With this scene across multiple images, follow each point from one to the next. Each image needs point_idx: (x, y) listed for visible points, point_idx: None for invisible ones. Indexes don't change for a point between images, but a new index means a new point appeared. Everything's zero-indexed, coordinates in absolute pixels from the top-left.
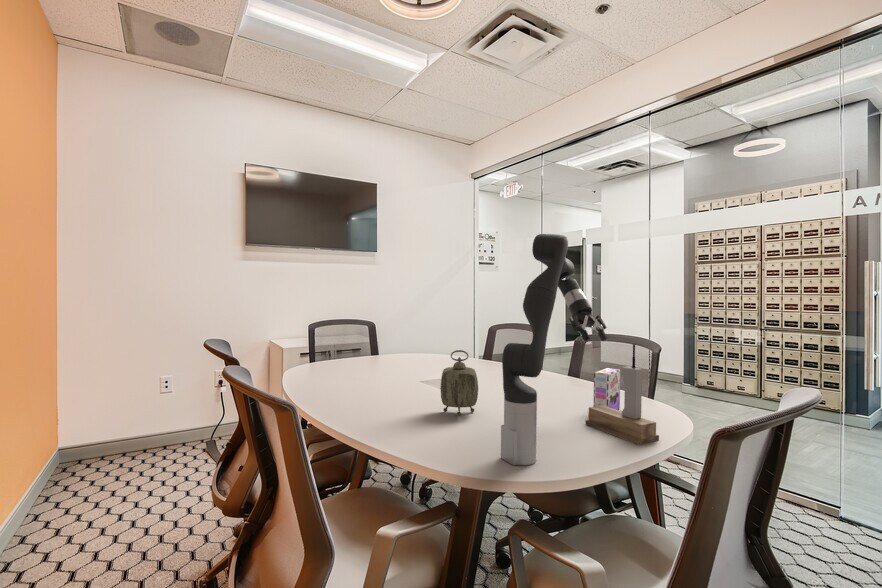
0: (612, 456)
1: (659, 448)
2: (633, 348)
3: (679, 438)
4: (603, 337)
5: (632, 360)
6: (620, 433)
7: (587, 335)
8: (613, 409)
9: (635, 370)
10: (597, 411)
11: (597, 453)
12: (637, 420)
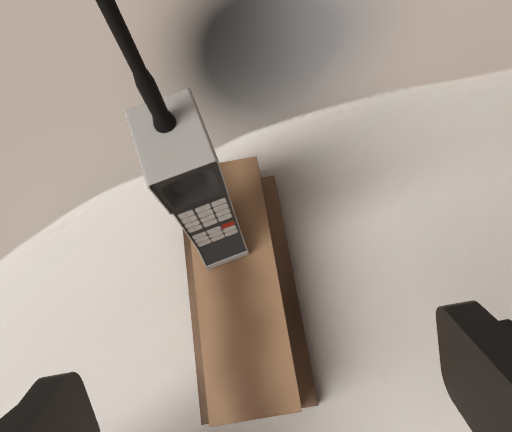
0: (404, 134)
1: (236, 148)
2: (122, 18)
3: (113, 193)
4: (67, 427)
5: (156, 95)
6: (285, 236)
7: (500, 327)
8: (211, 345)
9: (191, 93)
10: (291, 354)
11: (435, 158)
12: (230, 198)
